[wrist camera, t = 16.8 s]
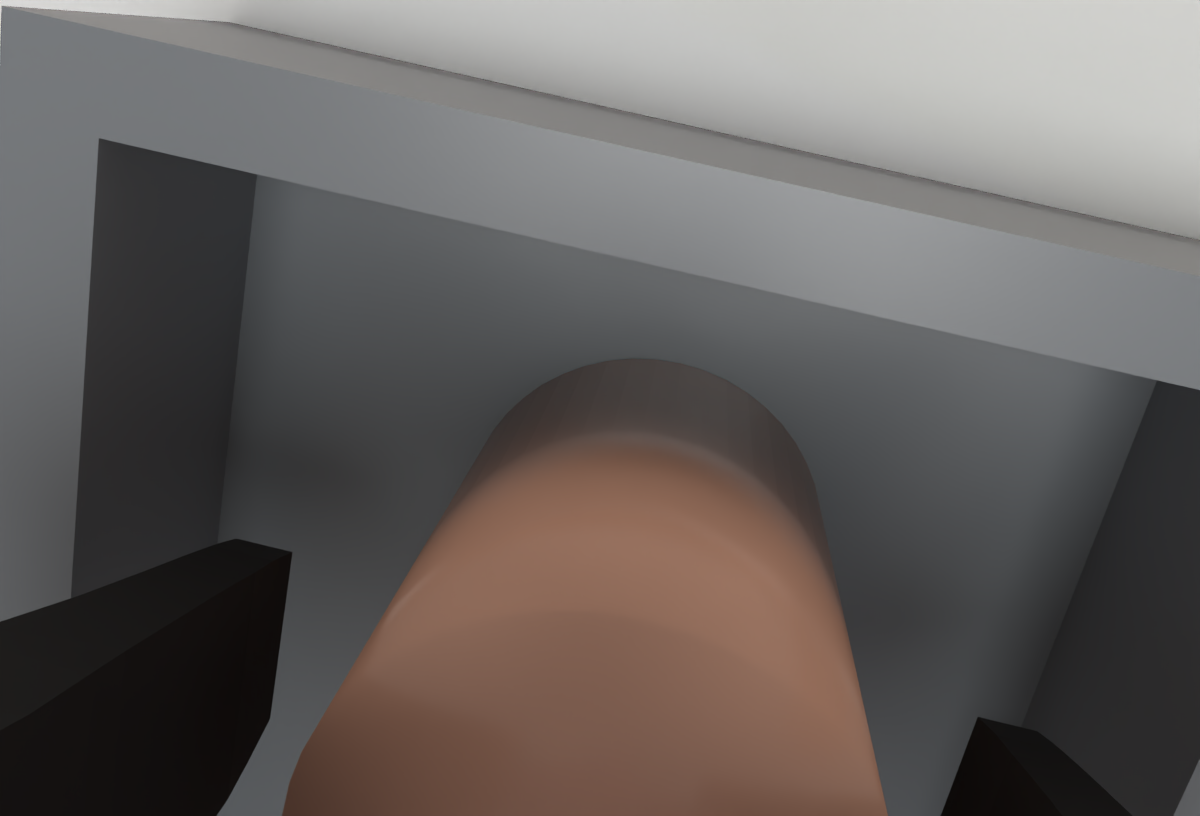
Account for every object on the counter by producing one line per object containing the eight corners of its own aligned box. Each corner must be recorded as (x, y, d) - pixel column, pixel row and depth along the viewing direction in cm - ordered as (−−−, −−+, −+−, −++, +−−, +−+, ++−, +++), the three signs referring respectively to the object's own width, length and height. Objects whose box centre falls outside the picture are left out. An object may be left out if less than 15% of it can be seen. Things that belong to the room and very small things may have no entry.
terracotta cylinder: (769, 719, 16) (803, 1182, 10) (440, 641, 16) (250, 1042, 10) (864, 405, 15) (986, 700, 8) (498, 321, 15) (318, 543, 8)
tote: (865, 1202, 20) (911, 1554, 15) (134, 1017, 21) (-40, 1303, 16) (1252, 251, 14) (1513, 347, 10) (229, 21, 15) (1, 5, 10)
